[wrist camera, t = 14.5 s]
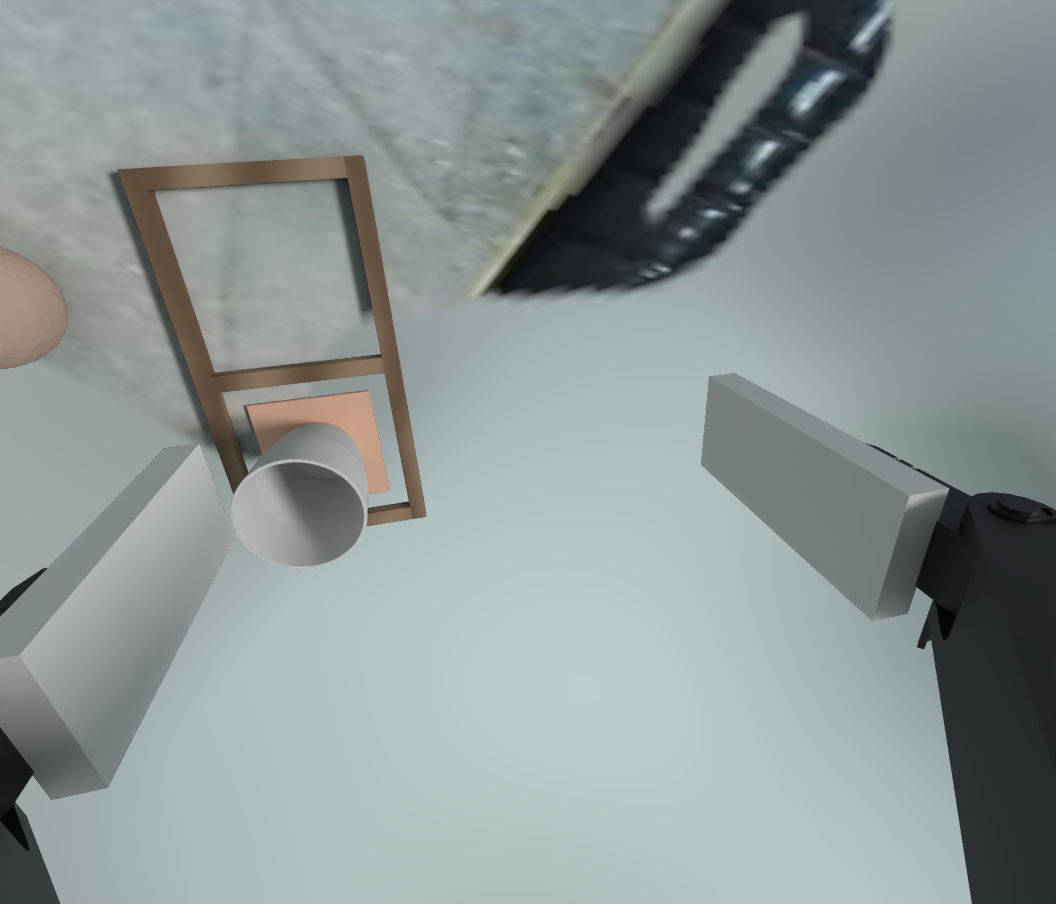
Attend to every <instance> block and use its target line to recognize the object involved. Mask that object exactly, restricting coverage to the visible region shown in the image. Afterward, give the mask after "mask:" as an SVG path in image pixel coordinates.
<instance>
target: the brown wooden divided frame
mask: <svg viewBox="0 0 1056 904" xmlns="http://www.w3.org/2000/svg"><path fill="white" fill-rule="evenodd" d="M117 170H118V173H119V176H120V178H121V181H122V184H123V187H124V190H125V192H126V195H127V198H128V201H129V204H130V206H131V209H132V212H133V215H134V218H135V220H136V223H137V226H138V229H139V232H140V234H141V237H142V240H143V243H144V245H145V248H146V251H147V254H148V257H149V259H150V262H151V265H152V268H153V271H154V273H155V276H156V279H157V282H158V285H159V287H160V290H161V293H162V296H163V299H164V301H165V304H166V307H167V310H168V313H169V315H170V318H171V321H172V324H173V327H174V329H175V332H176V335H177V338H178V341H179V343H180V346H181V349H182V352H183V354H184V357H185V360H186V363H187V366H188V368H189V371H190V374H191V377H192V380H193V382H194V385H195V388H196V391H197V394H198V396H199V399H200V402H201V405H202V408H203V410H204V413H205V416H206V419H207V422H208V424H209V427H210V430H211V433H212V436H213V438H214V441H215V444H216V447H217V450H218V452H219V455H220V458H221V461H222V463H223V466H224V469H225V472H226V475H227V477H228V480H229V483H230V486H231V488H232V491H233V494H234V493H235V491H236V489H237V488H238V486H239V485H240V483H241V482H242V481H243V480H244V478H245V477H246V476H247V474H248V470H247V467H246V464H245V461H244V458H243V455H242V452H241V449H240V446H239V443H238V440H237V437H236V434H235V431H234V428H233V425H232V422H231V419H230V417H229V414H228V411H227V408H226V405H225V402H224V399H223V396H222V393H221V392H229V391H237V390H246V389H254V388H262V387H271V386H279V385H288V384H296V383H305V382H313V381H321V380H329V379H338V378H346V377H355V376H363V375H372V374H381V373H385V378H386V383H387V388H388V393H389V399H390V404H391V409H392V415H393V420H394V425H395V431H396V436H397V441H398V446H399V452H400V457H401V462H402V467H403V472H404V478H405V483H406V488H407V494H408V499H409V502H403V503H397V504H390V505H384V506H377V507H371V508H368V511H367V525H366V526H372V525H378V524H384V523H390V522H397V521H403V520H409V519H415V518H422V517H426V509H425V503H424V497H423V492H422V486H421V480H420V475H419V469H418V463H417V458H416V452H415V446H414V440H413V434H412V429H411V423H410V417H409V411H408V406H407V400H406V394H405V389H404V383H403V377H402V371H401V366H400V360H399V355H398V348H397V343H396V337H395V331H394V326H393V320H392V314H391V308H390V303H389V297H388V291H387V285H386V280H385V274H384V268H383V262H382V257H381V251H380V245H379V240H378V234H377V228H376V222H375V217H374V211H373V205H372V199H371V194H370V188H369V182H368V177H367V171H366V165H365V159H364V156H363V155H361V156H344V157H326V158H309V159H291V160H274V161H256V162H239V163H222V164H204V165H187V166H169V167H152V168H134V169H117ZM343 178H348V182H349V188H350V193H351V198H352V204H353V209H354V214H355V219H356V225H357V230H358V235H359V240H360V246H361V251H362V256H363V262H364V267H365V272H366V277H367V283H368V288H369V293H370V299H371V304H372V309H373V314H374V320H375V325H376V330H377V335H378V341H379V345H380V351H381V354H379V355H370V356H361V357H353V358H344V359H335V360H326V361H317V362H308V363H300V364H291V365H282V366H273V367H264V368H255V369H247V370H238V371H229V372H220V373H215V372H214V369H213V366H212V363H211V360H210V357H209V354H208V351H207V348H206V345H205V342H204V339H203V336H202V333H201V330H200V327H199V324H198V321H197V318H196V315H195V312H194V309H193V307H192V304H191V301H190V298H189V295H188V292H187V289H186V286H185V283H184V280H183V277H182V274H181V271H180V268H179V265H178V262H177V259H176V256H175V253H174V250H173V247H172V244H171V241H170V238H169V235H168V232H167V229H166V226H165V223H164V220H163V217H162V214H161V211H160V208H159V205H158V202H157V199H156V197H155V194H154V190H169V189H185V188H201V187H217V186H232V185H248V184H264V183H280V182H296V181H311V180H327V179H343Z"/></svg>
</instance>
